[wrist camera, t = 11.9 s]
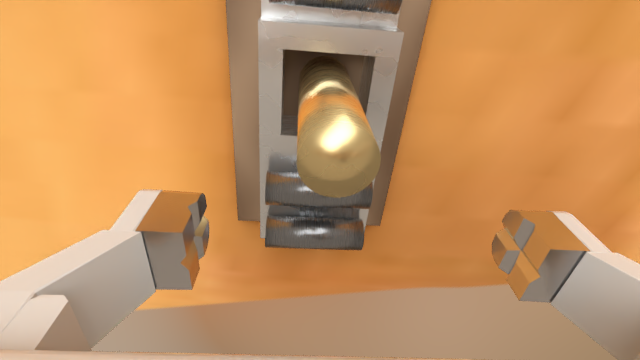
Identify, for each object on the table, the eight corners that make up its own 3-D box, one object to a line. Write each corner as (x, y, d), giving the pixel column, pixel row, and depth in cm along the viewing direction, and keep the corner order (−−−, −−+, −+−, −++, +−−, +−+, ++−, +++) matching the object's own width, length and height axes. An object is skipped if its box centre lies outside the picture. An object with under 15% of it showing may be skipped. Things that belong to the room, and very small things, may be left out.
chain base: (454, -147, 16) (467, -157, 15) (376, 213, 28) (379, 225, 27) (222, -177, 16) (215, -190, 14) (241, 208, 27) (238, 220, 26)
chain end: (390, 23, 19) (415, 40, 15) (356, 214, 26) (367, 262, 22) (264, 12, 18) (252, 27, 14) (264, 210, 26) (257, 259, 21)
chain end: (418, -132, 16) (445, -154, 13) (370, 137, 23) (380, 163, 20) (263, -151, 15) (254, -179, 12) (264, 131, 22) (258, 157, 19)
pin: (351, 57, 20) (388, 126, 12) (345, 106, 22) (373, 199, 13) (300, 53, 20) (298, 121, 11) (297, 103, 21) (294, 195, 13)
